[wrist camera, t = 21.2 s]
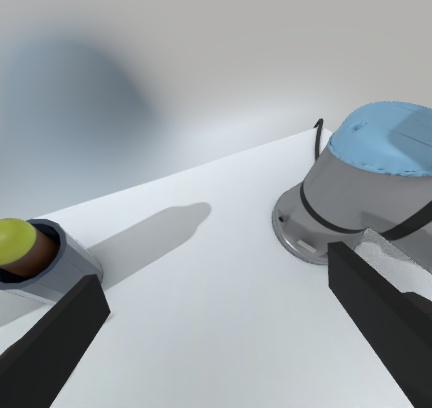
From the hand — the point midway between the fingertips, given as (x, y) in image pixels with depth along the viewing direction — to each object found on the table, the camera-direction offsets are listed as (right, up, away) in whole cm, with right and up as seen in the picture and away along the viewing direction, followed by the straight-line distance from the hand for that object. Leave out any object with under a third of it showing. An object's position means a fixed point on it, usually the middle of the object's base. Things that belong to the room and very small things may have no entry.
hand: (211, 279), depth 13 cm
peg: (-21, -7, +20) cm, 29 cm away
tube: (-21, -7, +21) cm, 30 cm away
